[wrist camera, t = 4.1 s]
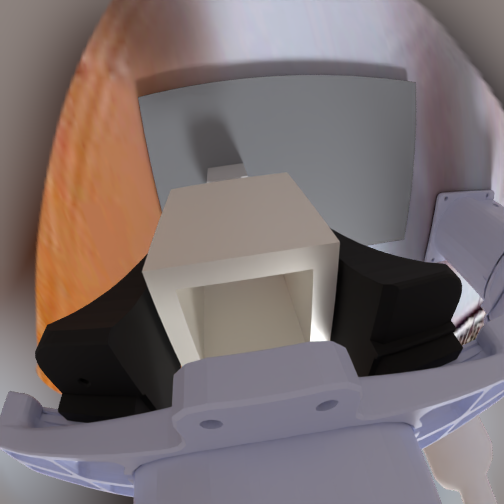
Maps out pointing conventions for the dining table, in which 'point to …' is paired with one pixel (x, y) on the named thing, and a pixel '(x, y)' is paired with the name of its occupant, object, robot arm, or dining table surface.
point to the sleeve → (242, 268)
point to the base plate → (295, 143)
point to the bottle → (464, 462)
